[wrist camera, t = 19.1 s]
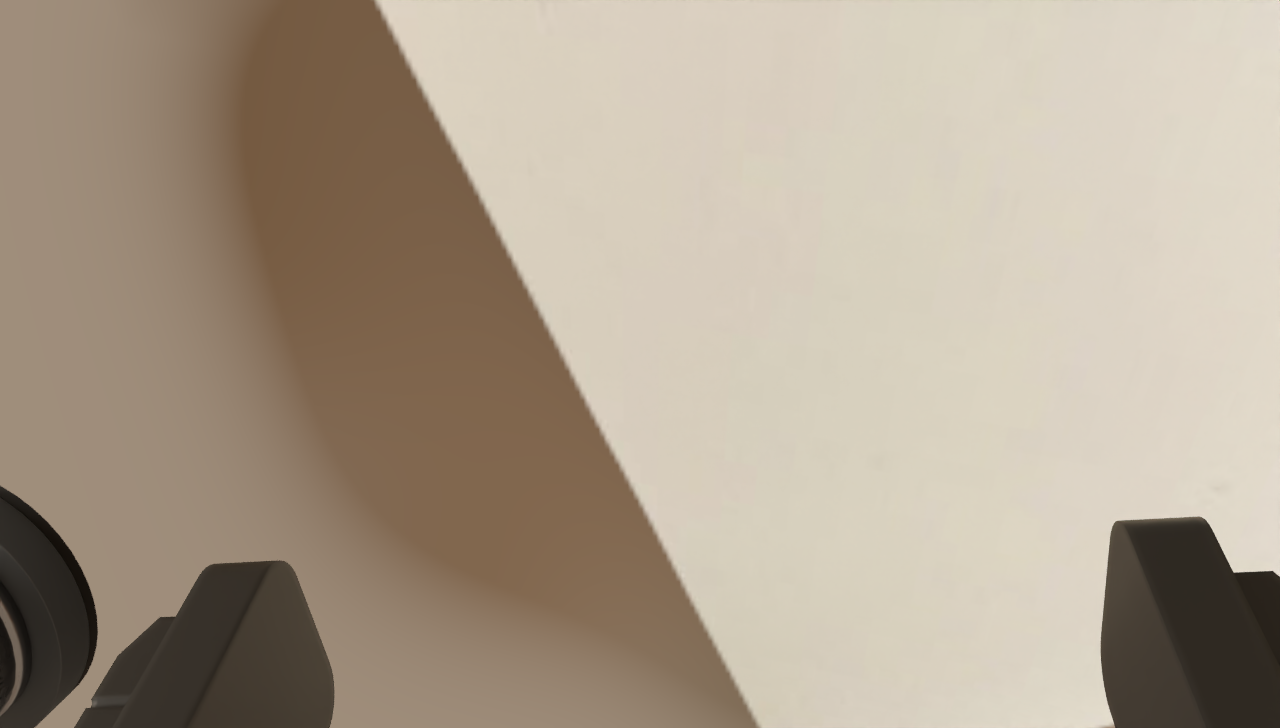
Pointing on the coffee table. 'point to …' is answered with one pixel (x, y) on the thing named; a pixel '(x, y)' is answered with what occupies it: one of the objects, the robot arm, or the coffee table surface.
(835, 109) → the coffee table surface
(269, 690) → the robot arm
